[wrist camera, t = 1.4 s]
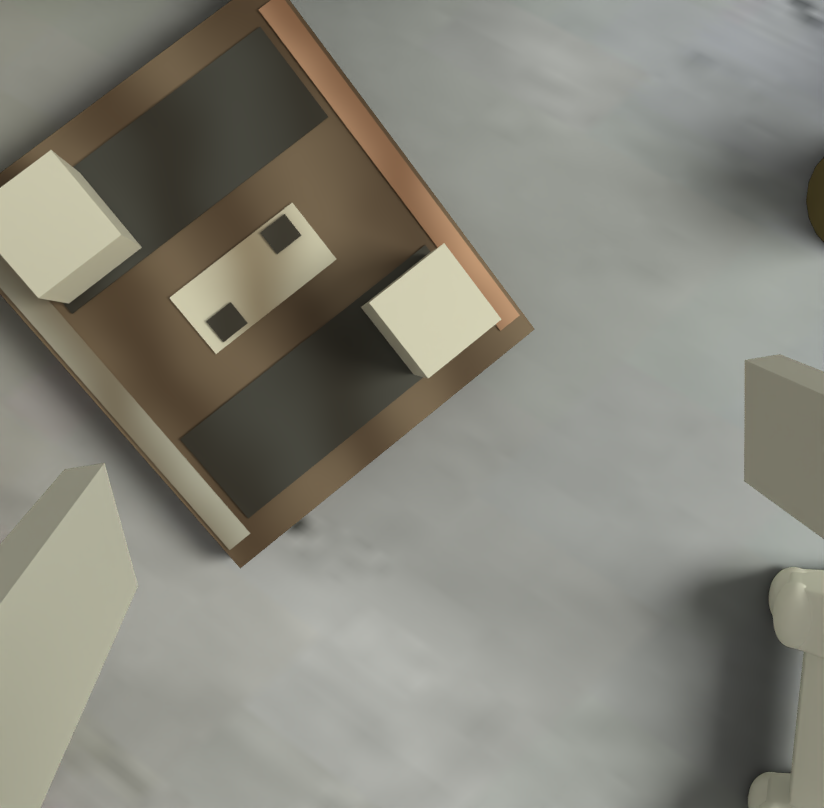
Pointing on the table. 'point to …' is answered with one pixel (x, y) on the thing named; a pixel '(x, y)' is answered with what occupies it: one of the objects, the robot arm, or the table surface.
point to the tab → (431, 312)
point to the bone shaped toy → (818, 697)
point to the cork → (816, 199)
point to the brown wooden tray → (252, 274)
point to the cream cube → (59, 230)
